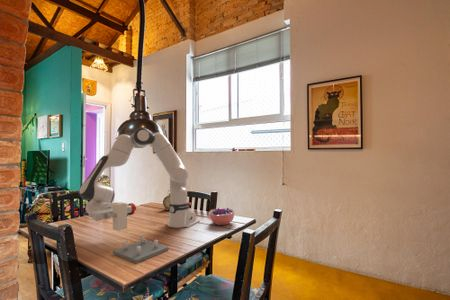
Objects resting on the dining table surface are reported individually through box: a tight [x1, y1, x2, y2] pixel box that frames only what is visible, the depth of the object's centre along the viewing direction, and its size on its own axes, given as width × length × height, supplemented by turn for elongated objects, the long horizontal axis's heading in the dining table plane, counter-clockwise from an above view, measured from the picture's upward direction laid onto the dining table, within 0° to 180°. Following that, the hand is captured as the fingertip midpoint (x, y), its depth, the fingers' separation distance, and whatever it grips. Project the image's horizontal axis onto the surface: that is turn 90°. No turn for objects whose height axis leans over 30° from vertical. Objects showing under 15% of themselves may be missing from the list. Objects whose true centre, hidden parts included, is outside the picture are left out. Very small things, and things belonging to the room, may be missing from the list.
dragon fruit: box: [127, 203, 137, 215], centre depth 193 cm, size 8×8×12 cm
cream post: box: [112, 201, 128, 232], centre depth 130 cm, size 5×5×13 cm
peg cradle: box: [112, 235, 169, 264], centre depth 119 cm, size 18×18×5 cm
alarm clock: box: [162, 189, 170, 211], centre depth 204 cm, size 11×5×16 cm, turn 105°
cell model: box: [208, 207, 235, 226], centre depth 166 cm, size 17×20×11 cm
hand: (120, 214), depth 129 cm, fingers closed on cream post, 5 cm apart
